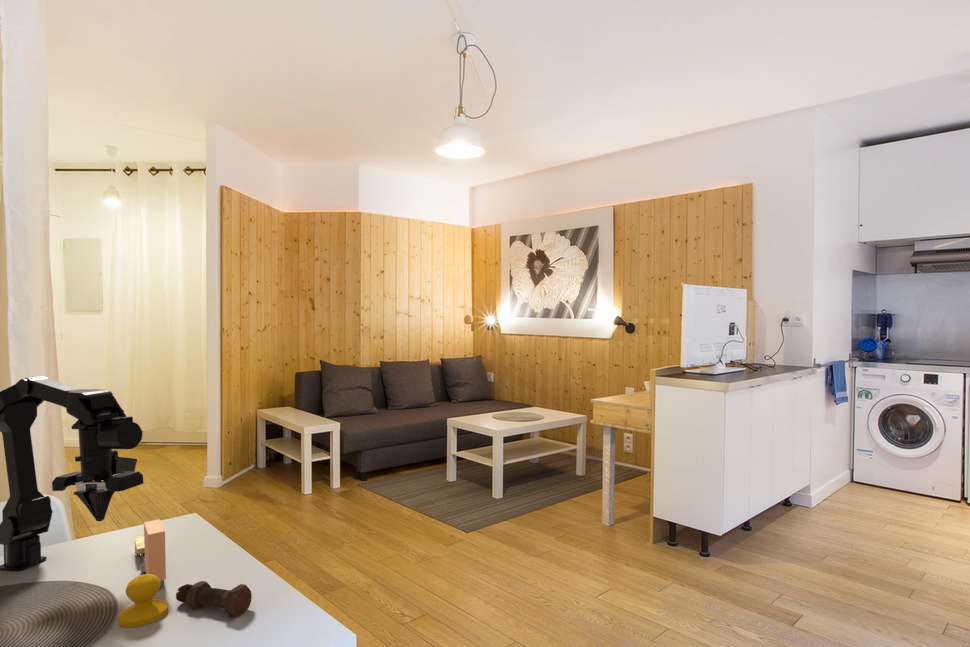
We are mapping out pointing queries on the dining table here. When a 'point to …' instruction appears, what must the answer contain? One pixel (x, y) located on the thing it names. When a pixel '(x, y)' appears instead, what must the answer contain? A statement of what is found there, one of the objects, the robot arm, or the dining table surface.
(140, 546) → the keeper
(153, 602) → the doorknob
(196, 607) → the bolt
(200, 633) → the dining table surface
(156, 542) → the peach block with bar
